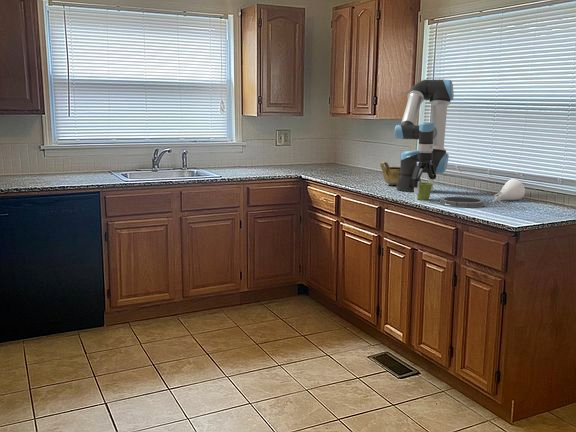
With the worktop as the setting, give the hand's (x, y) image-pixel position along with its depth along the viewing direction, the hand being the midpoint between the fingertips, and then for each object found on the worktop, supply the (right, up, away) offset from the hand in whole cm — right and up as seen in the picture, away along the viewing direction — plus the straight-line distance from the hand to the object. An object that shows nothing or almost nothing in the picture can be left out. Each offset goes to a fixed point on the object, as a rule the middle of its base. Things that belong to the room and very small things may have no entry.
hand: (423, 192), depth 313 cm
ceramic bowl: (-4, +6, +56) cm, 57 cm away
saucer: (+16, -7, -14) cm, 22 cm away
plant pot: (0, -4, +1) cm, 4 cm away
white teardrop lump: (+43, -5, 0) cm, 43 cm away
